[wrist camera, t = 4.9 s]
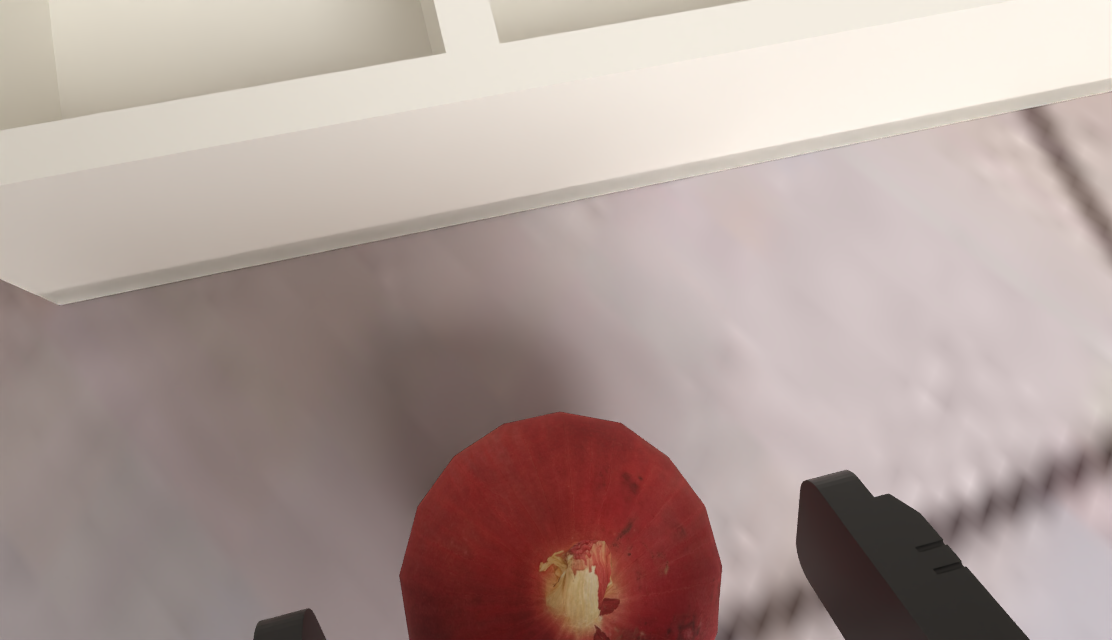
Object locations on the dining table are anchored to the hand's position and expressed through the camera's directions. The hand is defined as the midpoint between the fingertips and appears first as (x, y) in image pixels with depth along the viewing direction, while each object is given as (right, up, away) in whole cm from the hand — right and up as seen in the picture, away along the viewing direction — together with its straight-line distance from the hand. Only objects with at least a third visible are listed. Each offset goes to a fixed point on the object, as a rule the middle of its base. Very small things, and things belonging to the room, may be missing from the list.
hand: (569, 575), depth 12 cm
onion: (0, -1, +6) cm, 6 cm away
